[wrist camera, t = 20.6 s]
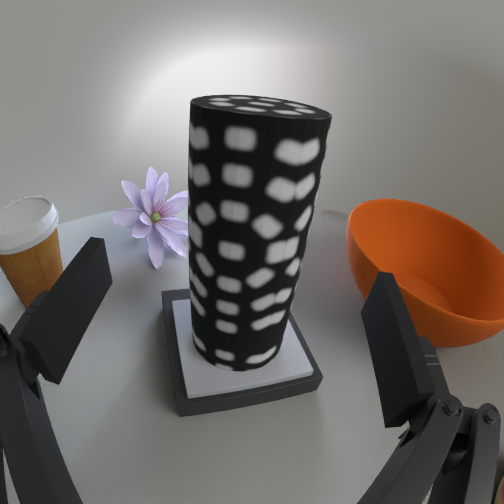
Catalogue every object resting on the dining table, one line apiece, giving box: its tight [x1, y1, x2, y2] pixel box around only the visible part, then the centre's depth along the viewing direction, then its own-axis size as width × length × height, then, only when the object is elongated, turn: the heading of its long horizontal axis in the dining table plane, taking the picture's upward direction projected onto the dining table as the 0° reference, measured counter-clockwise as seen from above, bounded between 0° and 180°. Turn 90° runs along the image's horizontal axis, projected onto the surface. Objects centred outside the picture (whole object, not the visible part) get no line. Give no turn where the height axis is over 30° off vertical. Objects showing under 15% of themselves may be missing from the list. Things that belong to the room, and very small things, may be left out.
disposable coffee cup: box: [0, 196, 63, 309], centre depth 29 cm, size 10×10×12 cm
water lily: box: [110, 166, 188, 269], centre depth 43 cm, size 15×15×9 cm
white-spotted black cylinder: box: [188, 95, 332, 372], centre depth 23 cm, size 8×8×20 cm
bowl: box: [346, 199, 504, 347], centre depth 35 cm, size 25×25×10 cm
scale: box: [162, 289, 323, 417], centre depth 30 cm, size 14×13×3 cm
